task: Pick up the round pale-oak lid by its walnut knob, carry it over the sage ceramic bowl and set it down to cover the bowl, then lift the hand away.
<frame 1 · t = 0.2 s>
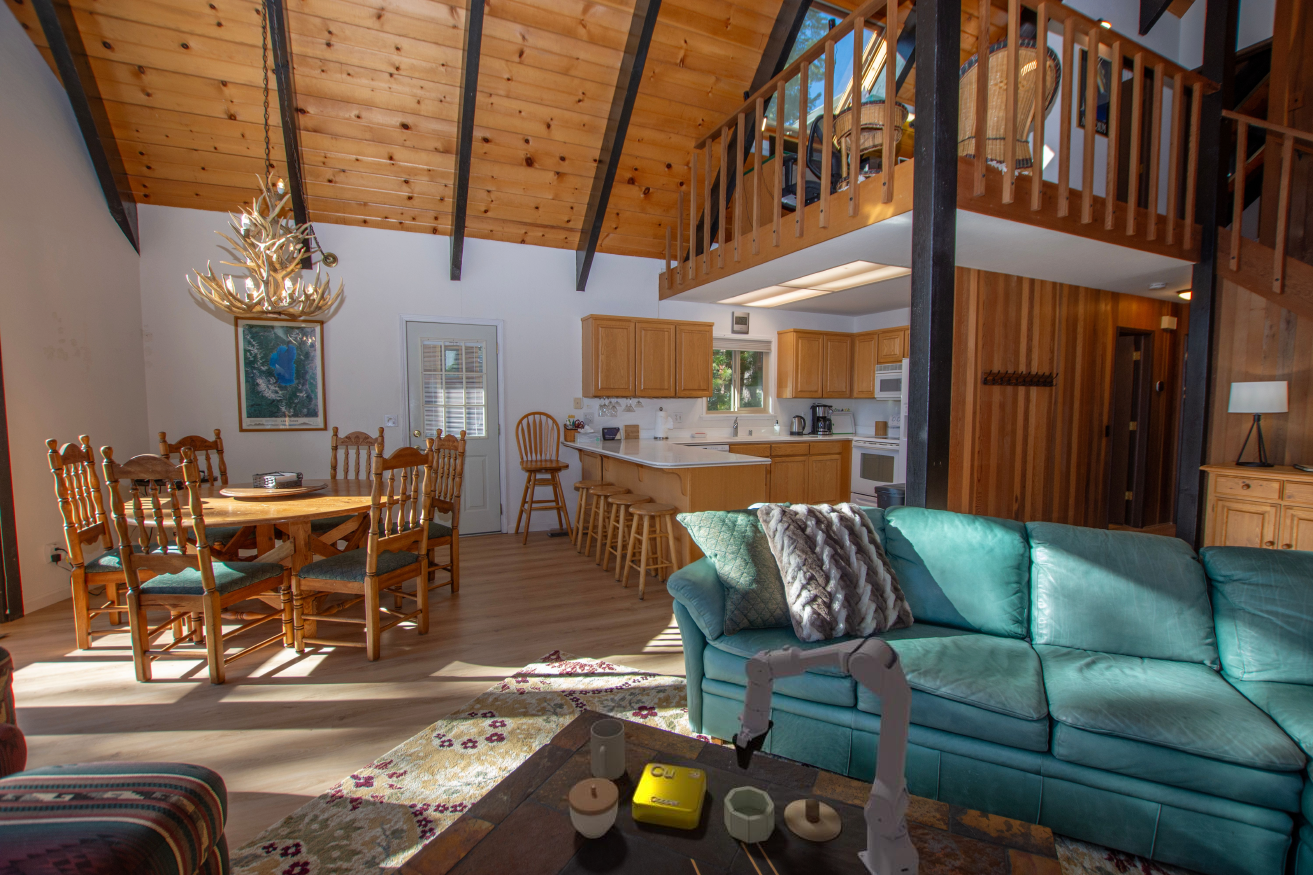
hand: (749, 757, 129), 10 cm above the table, tool pointing down, fingers open, 7 cm apart
element tile: (670, 804, 130), on the table
bowl: (749, 824, 123), on the table
lidded jar: (594, 828, 122), on the table
mug: (606, 775, 140), on the table
lid: (812, 821, 124), on the table
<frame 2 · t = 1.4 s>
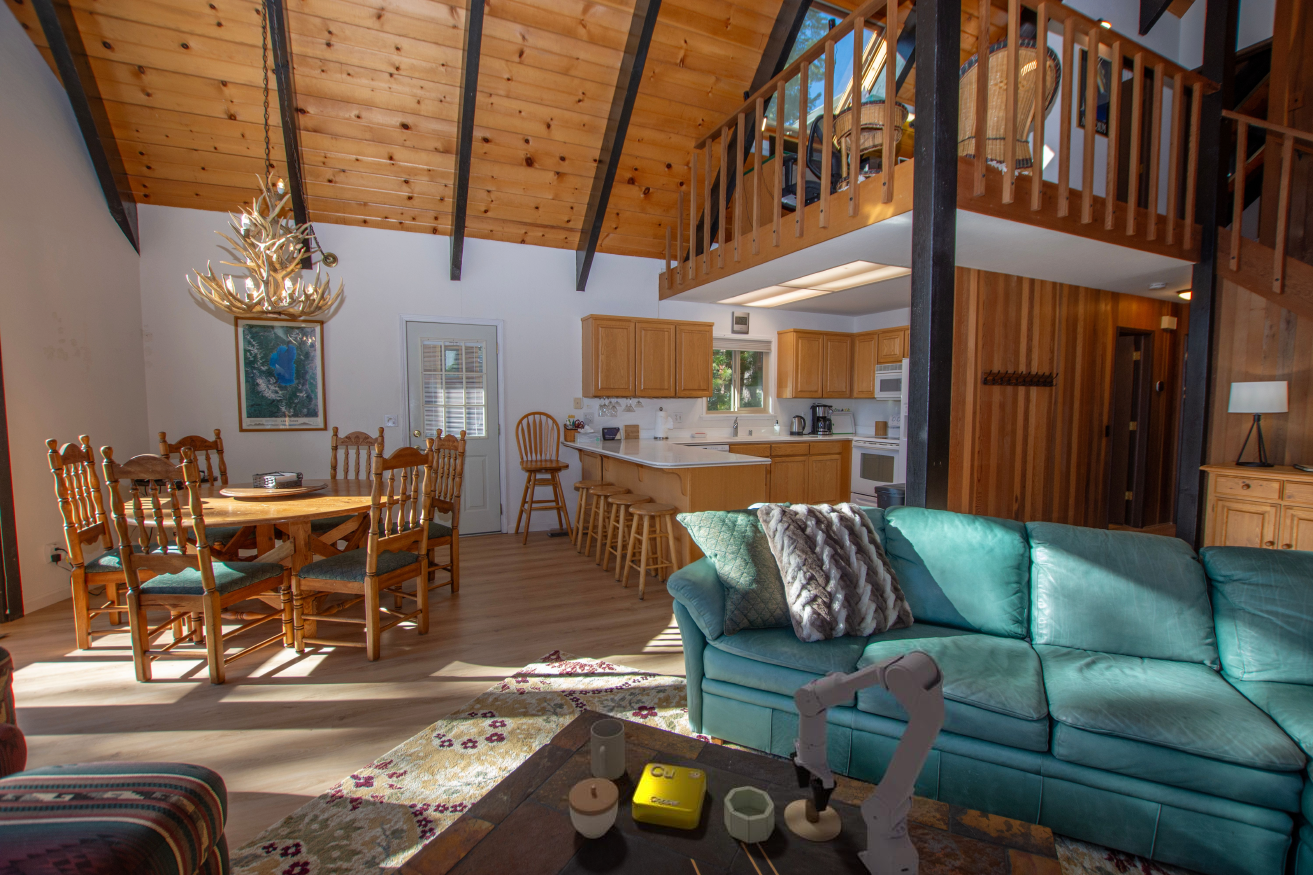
hand: (812, 797, 124), 5 cm above the table, tool pointing down, fingers open, 7 cm apart
nothing on the table moved.
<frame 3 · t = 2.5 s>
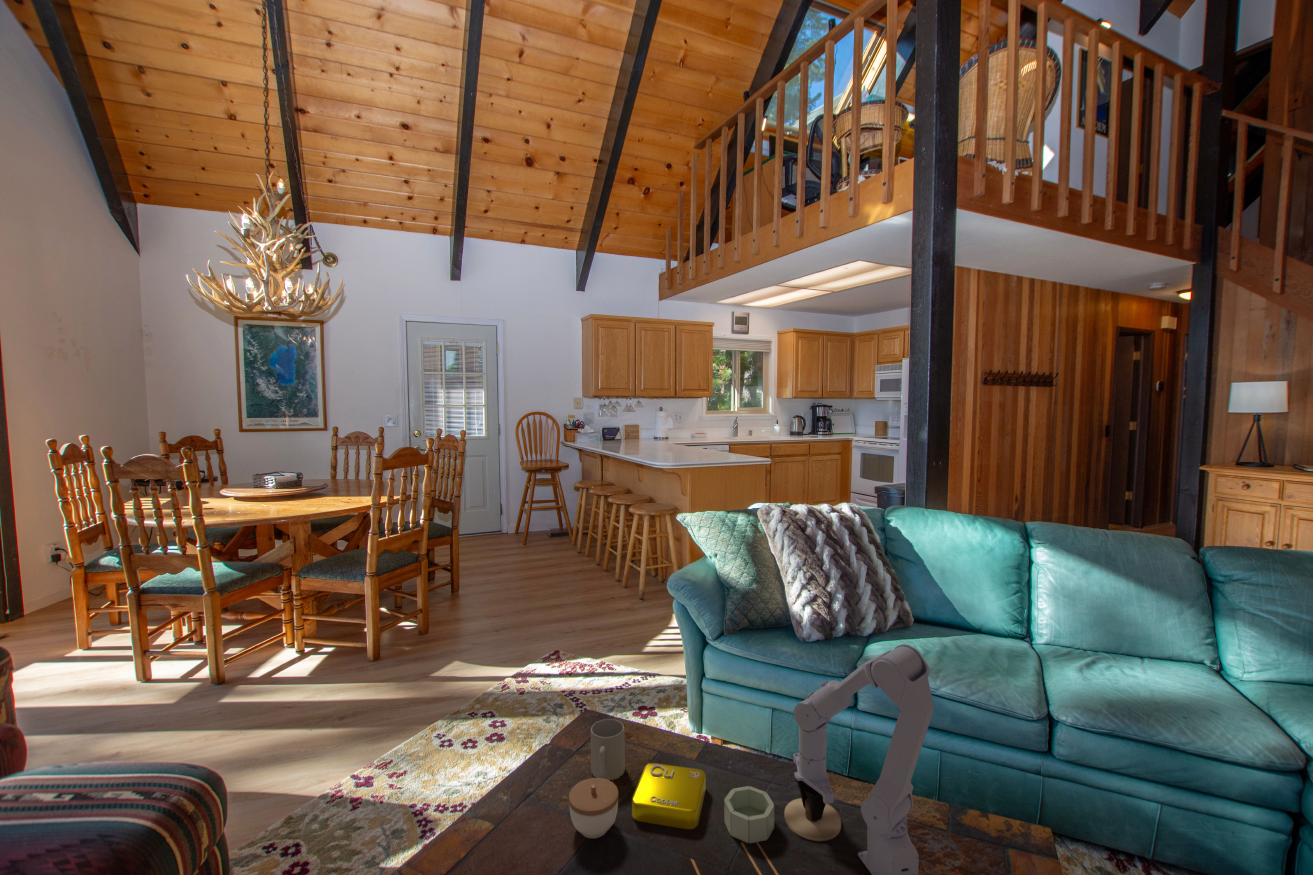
hand: (812, 812, 124), 2 cm above the table, tool pointing down, fingers closed on lid, 3 cm apart
lid: (812, 819, 124), on the table, touching gripper
everything else where it was.
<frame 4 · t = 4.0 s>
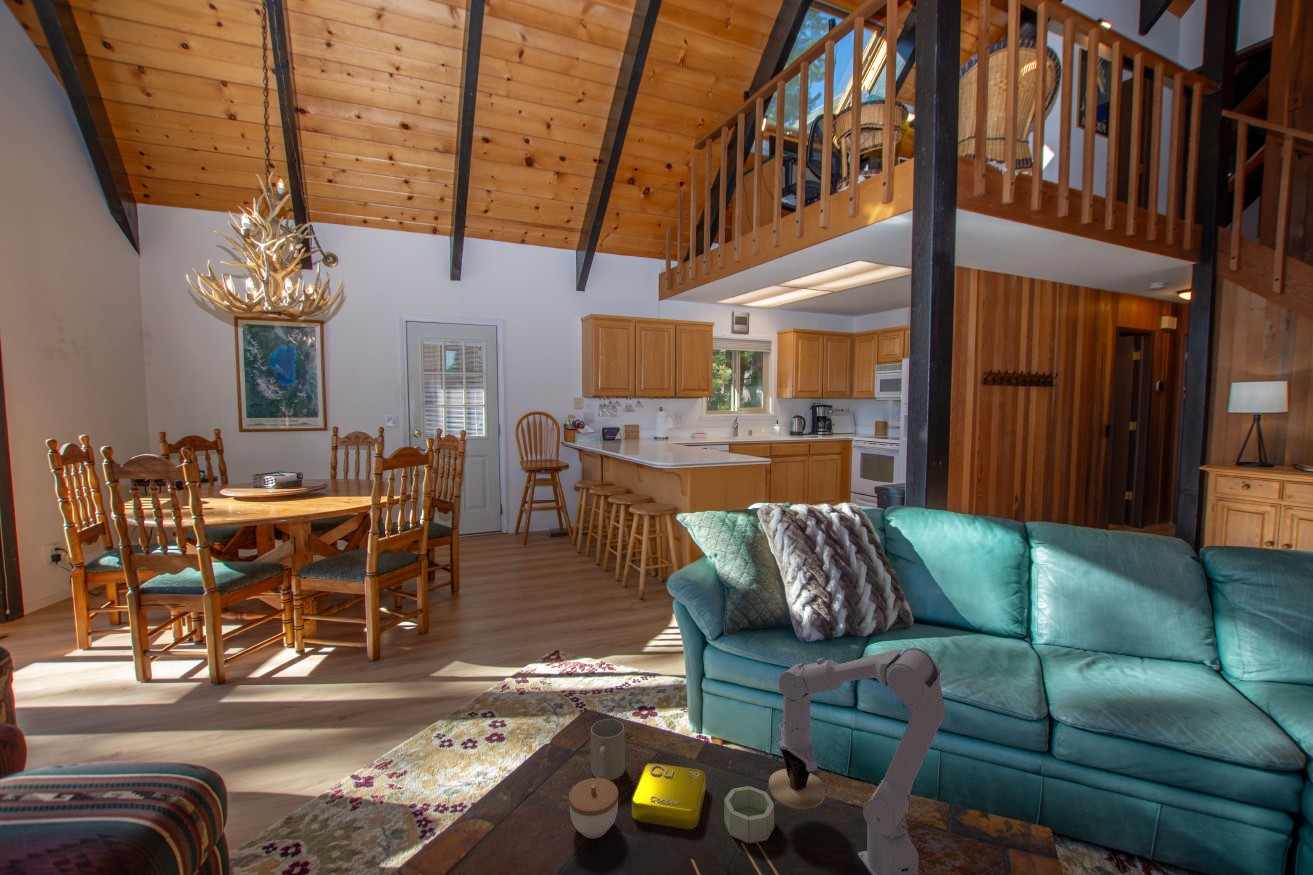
hand: (796, 782, 123), 9 cm above the table, tool pointing down, fingers closed on lid, 3 cm apart
lid: (796, 789, 123), point 7 cm above the table, touching gripper
everything else where it was.
when the fingers open (8 cm above the table, at t = 5.8 s): lid drops 1 cm, resting on bowl.
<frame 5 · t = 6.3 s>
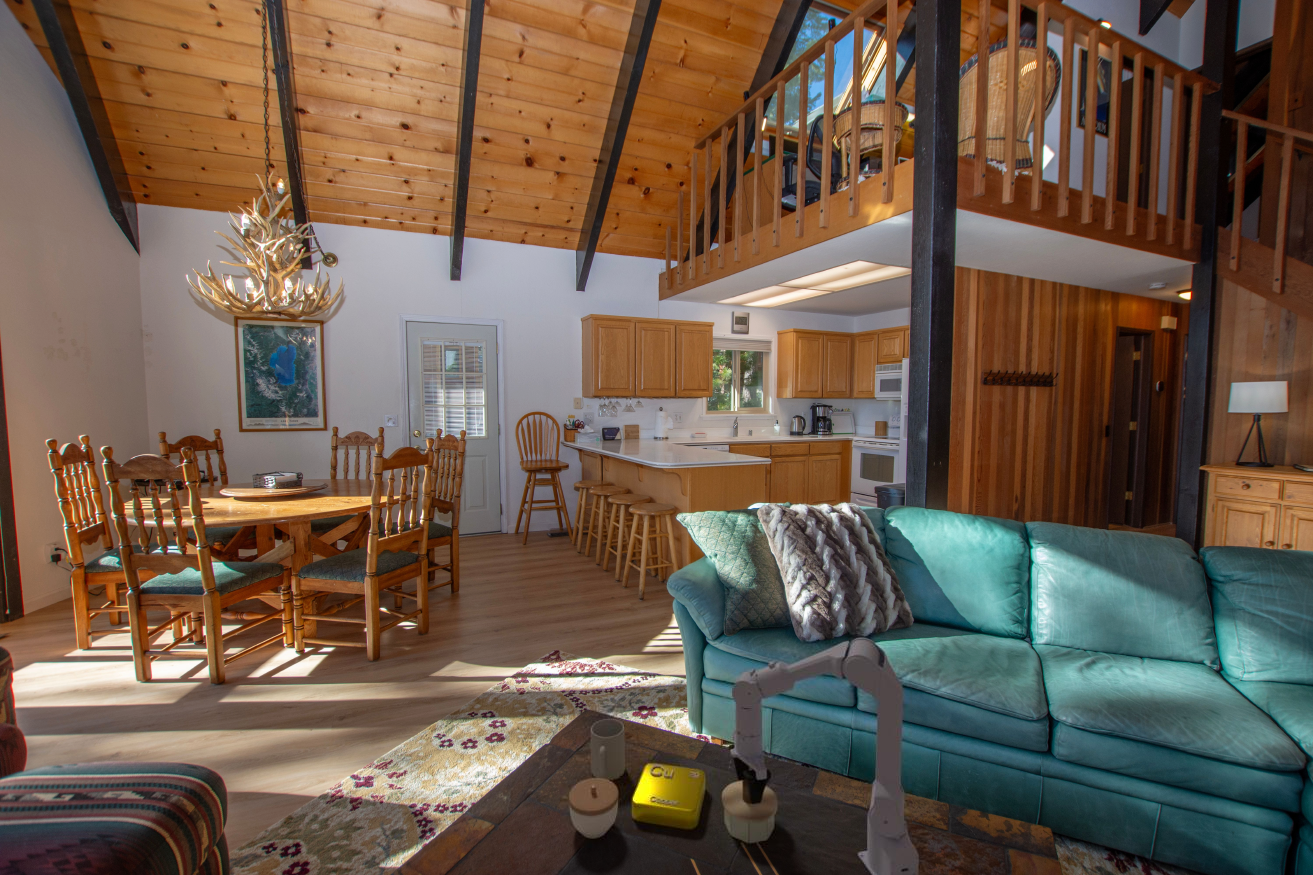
hand: (749, 790, 122), 8 cm above the table, tool pointing down, fingers open, 7 cm apart
lid: (749, 802, 122), point 5 cm above the table, touching bowl
everything else where it was.
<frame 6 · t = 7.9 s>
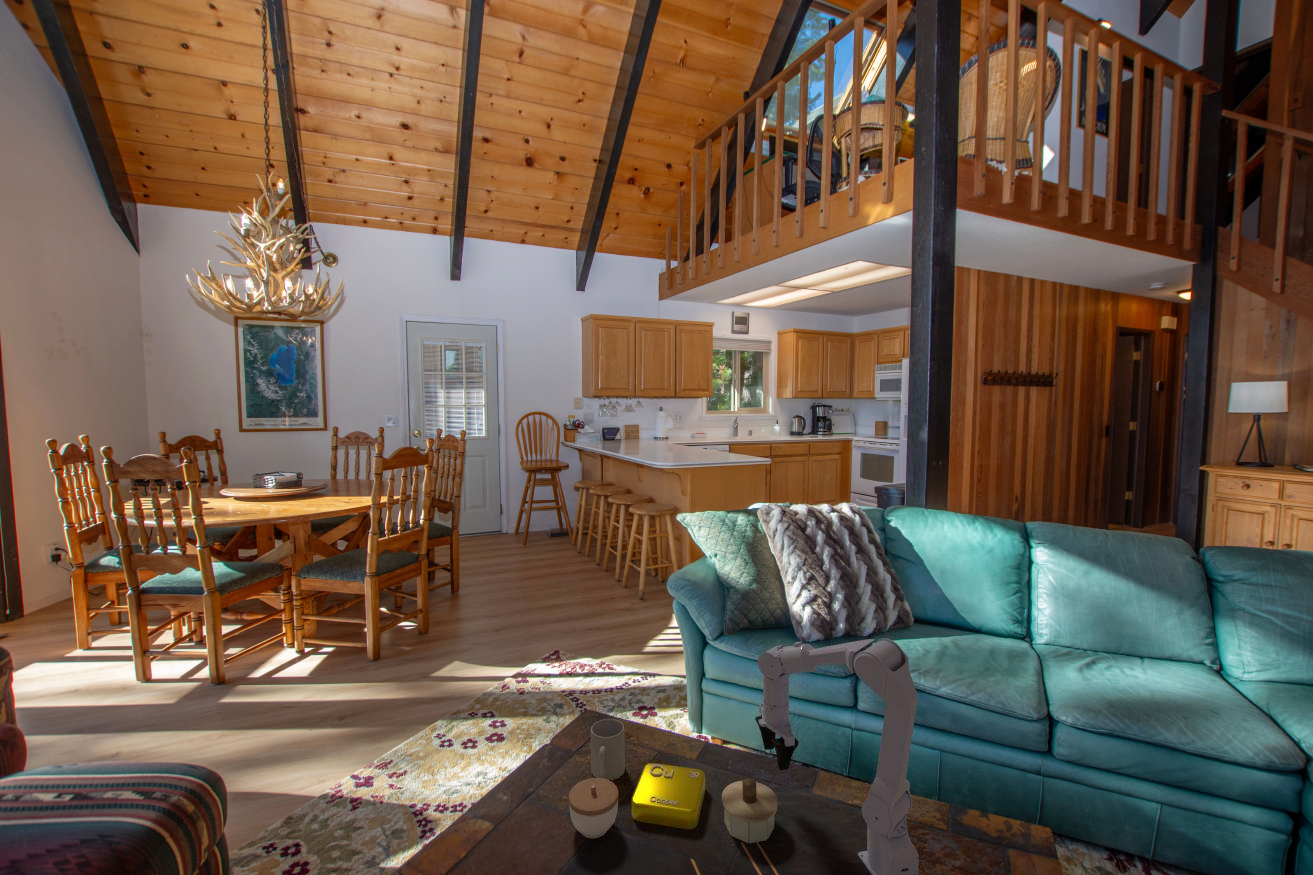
hand: (776, 758, 129), 10 cm above the table, tool pointing down, fingers open, 7 cm apart
nothing on the table moved.
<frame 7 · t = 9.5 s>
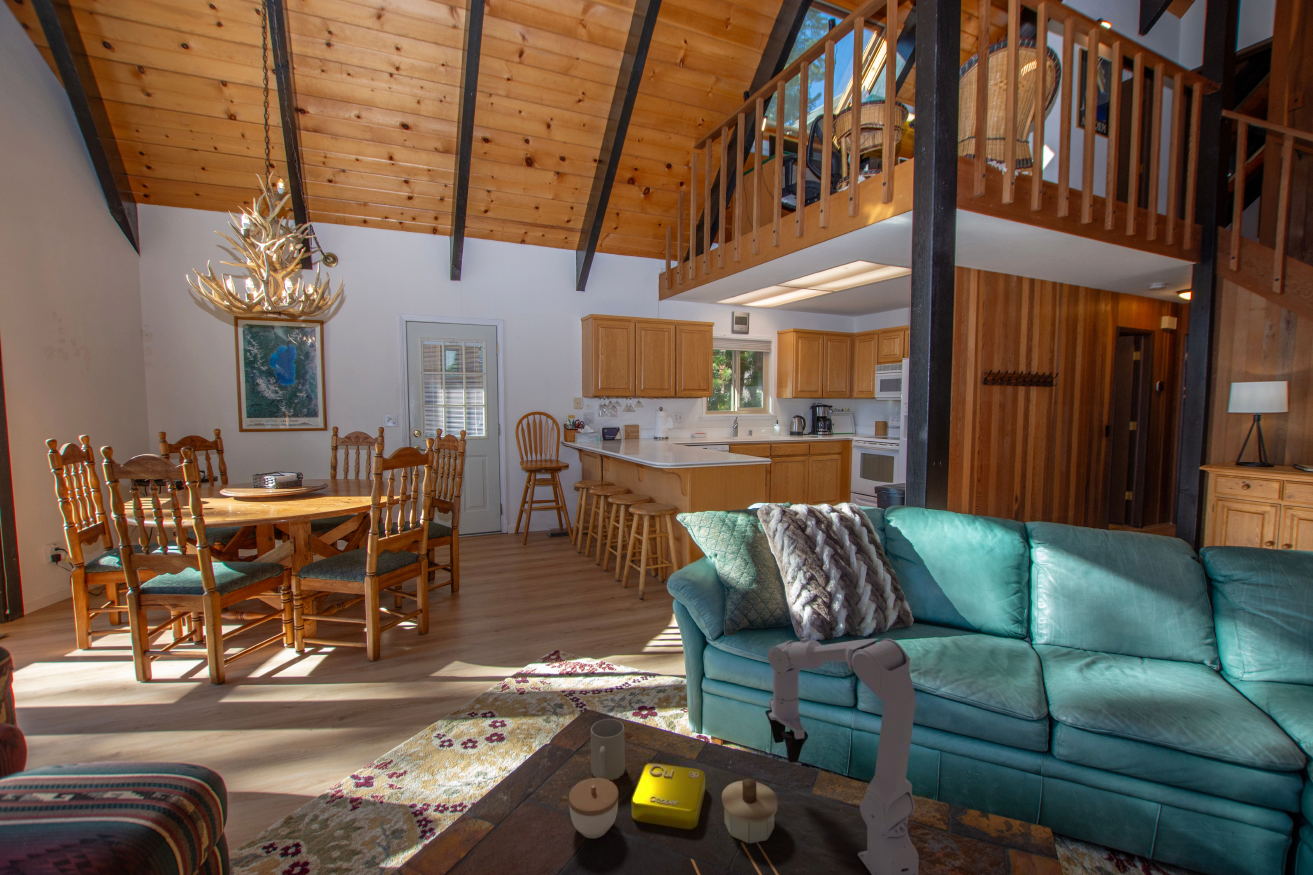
hand: (785, 751, 132), 10 cm above the table, tool pointing down, fingers open, 7 cm apart
nothing on the table moved.
at the end: lid 0.1 cm off-centre on the bowl, point 5.0 cm above the bowl's base; lid tilted 0°; the gripper is holding nothing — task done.
